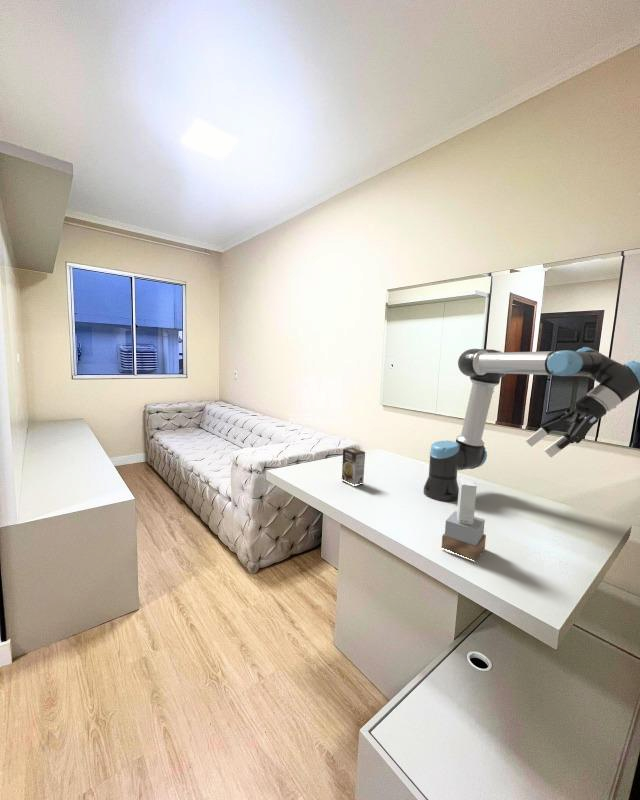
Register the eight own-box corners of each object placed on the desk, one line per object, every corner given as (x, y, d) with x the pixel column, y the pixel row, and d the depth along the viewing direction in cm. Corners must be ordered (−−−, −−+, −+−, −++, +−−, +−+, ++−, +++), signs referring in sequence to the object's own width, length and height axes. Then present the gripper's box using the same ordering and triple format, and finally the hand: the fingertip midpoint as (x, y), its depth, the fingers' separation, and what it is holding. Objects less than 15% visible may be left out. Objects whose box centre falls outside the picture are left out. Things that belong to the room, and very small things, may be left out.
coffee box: (341, 481, 164) (342, 448, 163) (351, 479, 168) (352, 447, 166) (353, 487, 157) (355, 453, 155) (364, 484, 161) (365, 451, 159)
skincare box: (473, 525, 102) (477, 486, 101) (458, 523, 103) (461, 484, 102) (470, 516, 108) (473, 480, 106) (456, 514, 109) (459, 478, 108)
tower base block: (441, 550, 106) (442, 535, 105) (452, 538, 114) (453, 524, 113) (475, 563, 100) (476, 547, 99) (484, 549, 107) (485, 534, 107)
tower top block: (444, 535, 105) (445, 520, 105) (453, 525, 112) (454, 511, 112) (475, 546, 100) (477, 529, 99) (483, 534, 107) (484, 519, 106)
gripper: (634, 419, 91) (566, 469, 96) (581, 407, 116) (529, 447, 120) (614, 398, 92) (547, 449, 96) (566, 391, 116) (514, 431, 121)
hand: (537, 448), depth 108 cm, fingers open, 13 cm apart
